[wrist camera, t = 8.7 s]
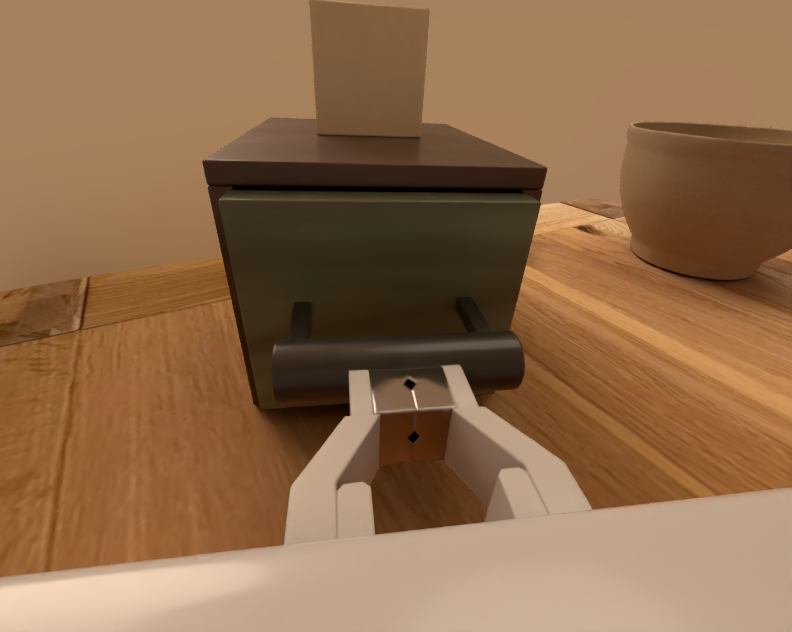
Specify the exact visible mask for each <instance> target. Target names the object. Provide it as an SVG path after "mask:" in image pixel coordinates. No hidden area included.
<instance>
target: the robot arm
mask: <svg viewBox="0 0 792 632" xmlns="http://www.w3.org/2000/svg"><path fill="white" fill-rule="evenodd" d="M349 404H350V416H345V417H344V418H343V419H342V421H341V422H340V423H339V425H338V426H337V427H336V428H335V430H334V431H333V432H332V434H331V435H330V436H329V438H328V439H327V440H326V441H325V443H324V444H323V445H322V447H321V448H320V449H319V450H318V452H317V453H316V454H315V456H314V457H313V458H312V460H311V461H310V462H309V463H308V465H307V466H306V467H305V469H304V470H303V471H302V472H301V474H300V475H299V476H298V478H297V479H296V480H295V481H294V483H293V484H292V485H291V487H290V494H289V503H288V511H287V520H286V528H285V537H284V545H279V546H270V547H261V548H252V549H244V550H235V551H226V552H217V553H208V554H200V555H191V556H182V557H173V558H164V559H156V560H147V561H138V562H129V563H120V564H112V565H103V566H94V567H85V568H76V569H68V570H59V571H50V572H41V573H32V574H24V575H15V576H6V577H0V632H792V487H789V488H780V489H771V490H762V491H753V492H744V493H736V494H727V495H718V496H709V497H700V498H692V499H683V500H674V501H665V502H656V503H647V504H639V505H630V506H621V507H612V508H604V509H595V510H593V509H592V507H591V505H590V504H589V502H588V500H587V499H586V497H585V495H584V494H583V492H582V490H581V489H580V487H579V485H578V484H577V482H576V480H575V479H574V477H573V475H572V474H571V472H570V470H569V469H568V467H567V465H566V464H565V462H564V461H562V460H561V459H560V458H558V457H557V456H555V455H554V454H552V453H551V452H549V451H548V450H547V449H545V448H544V447H542V446H541V445H539V444H538V443H537V442H535V441H534V440H532V439H531V438H529V437H528V436H526V435H525V434H524V433H522V432H521V431H519V430H518V429H516V428H515V427H513V426H512V425H511V424H509V423H508V422H506V421H505V420H503V419H502V418H500V417H499V416H498V415H496V414H495V413H493V412H492V411H490V410H489V409H488V408H486V407H479V405H478V403H477V401H476V398H475V396H474V394H473V392H472V389H471V387H470V385H469V383H468V381H467V378H466V376H465V374H464V372H463V369H462V367H461V366H460V365H459V364H458V365H445V366H437V367H420V368H398V369H369V370H349ZM436 460H444V463H445V464H446V465H447V466H448V467H449V468H450V469H451V470H452V471H453V472H454V473H455V474H456V476H457V477H458V478H459V479H460V480H461V481H462V482H463V483H464V484H465V485H466V486H467V487H468V488H469V490H470V491H471V492H472V493H473V494H474V495H475V496H476V497H477V498H478V499H479V500H480V501H481V502H482V504H483V505H484V506H485V507H486V508H487V509H488V511H487V514H486V518H485V521H484V522H482V523H473V524H464V525H455V526H447V527H438V528H429V529H420V530H411V531H402V532H393V533H384V534H376V535H375V526H374V516H373V506H372V496H371V487H370V485H371V483H372V481H373V479H374V477H375V474H376V472H377V470H378V468H379V466H381V465H389V464H398V463H407V462H419V461H436Z"/></svg>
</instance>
